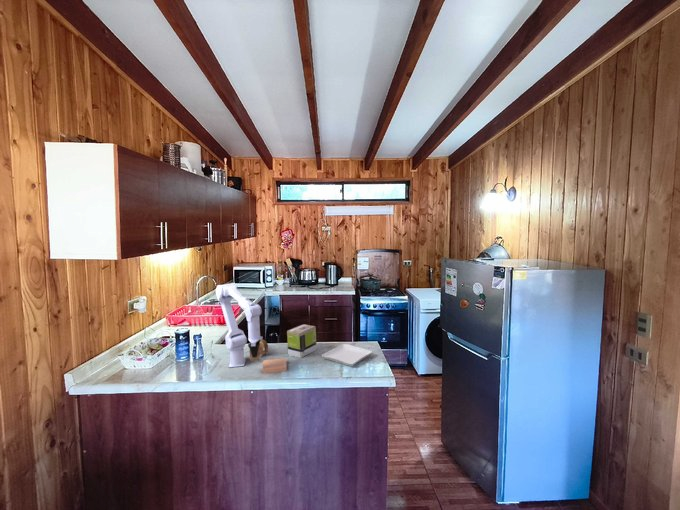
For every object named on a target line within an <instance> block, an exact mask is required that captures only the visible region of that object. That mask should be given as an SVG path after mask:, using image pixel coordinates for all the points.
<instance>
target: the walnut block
mask: <svg viewBox="0 0 680 510" xmlns="http://www.w3.org/2000/svg"><path fill="white" fill-rule="evenodd" d="M260 359H261V355H260V349H259V348H258V353H257V357H254V358H253V357H252V354H251V350H250V349H249V361H250V362H255V361H260Z"/></svg>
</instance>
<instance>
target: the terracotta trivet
mask: <svg viewBox="0 0 680 510" xmlns="http://www.w3.org/2000/svg"><path fill="white" fill-rule="evenodd" d="M287 371H288V369H287V357H286V358H282V357H281V358H273V359H263V361H262V374H269V373H271V374H272V373H281V372H287Z"/></svg>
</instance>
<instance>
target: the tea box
mask: <svg viewBox="0 0 680 510" xmlns="http://www.w3.org/2000/svg"><path fill="white" fill-rule="evenodd" d="M316 329H317V327H316V326H315V325H309V324H301V325H297V326H296V327H292V328H291V329H288V330H287V331H286V336H287V355H288V356H290V357H291V356H292V357H294V356H295V358H297V359H301V358H303V357H305V356H307V355H309V354H311V353H313V352H315V351H317V349H318V348H317V347H318V346H317V344H318V343H317V332H316V331H317V330H316Z"/></svg>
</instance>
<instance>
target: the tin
mask: <svg viewBox="0 0 680 510" xmlns="http://www.w3.org/2000/svg"><path fill="white" fill-rule="evenodd" d="M249 344H251V343H250V342H249ZM259 344H260V345H259V349H260V356H263V355H266V354H267V353H268V351H269V344H268V342H267V341H266V340H265V339H263V338H262V339H261V340H260V343H259Z"/></svg>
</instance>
